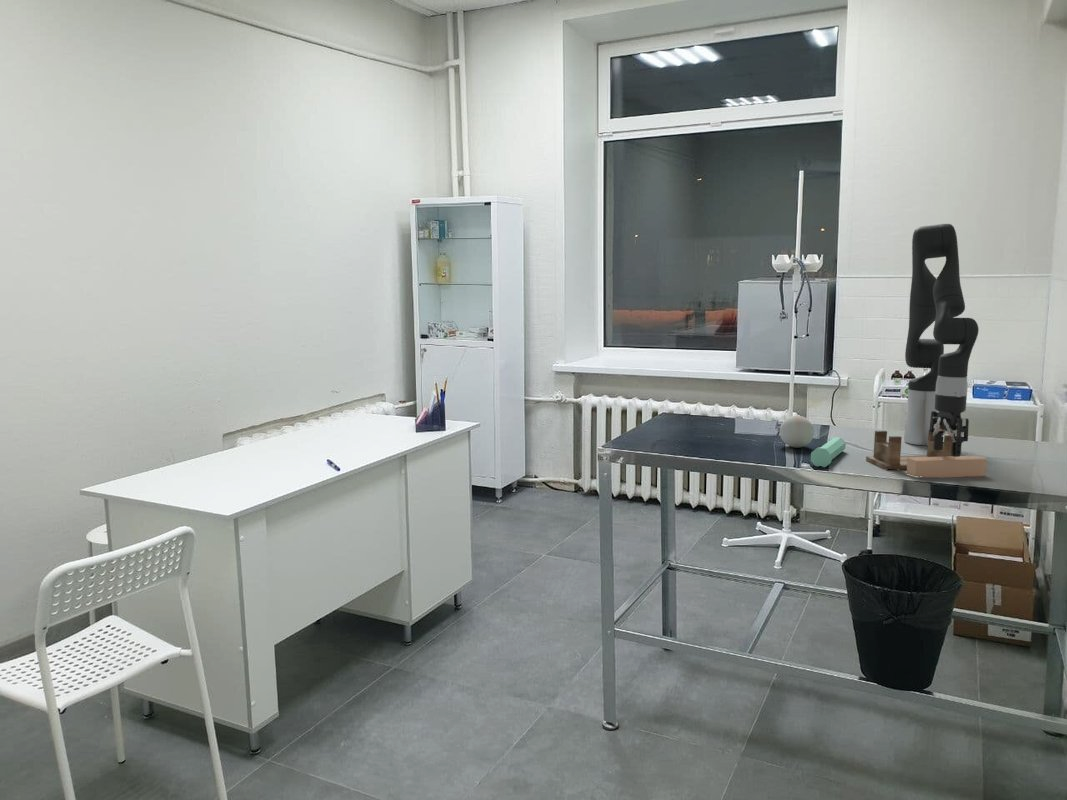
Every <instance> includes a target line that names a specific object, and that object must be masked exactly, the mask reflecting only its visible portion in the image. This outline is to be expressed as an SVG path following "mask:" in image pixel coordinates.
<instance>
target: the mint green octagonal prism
mask: <svg viewBox="0 0 1067 800" xmlns="http://www.w3.org/2000/svg"><path fill="white" fill-rule="evenodd" d="M846 444H847V443H846V441H845V439H843V438H842V437H840V436H839V437H837V436H834V437H833V438H831V439H830V440H829V441H828V442H826V443H825V444H823V445H822V446H821V447H817V448H816V447H815V449H814V450H812V451H811V453H810V462H811V463H812V464H813V465H814V466H815V467H819V466H822V467H821V468H826V467H828V466H829V465H830V464H831V463H832V460H833V459H835V458H836V457H837V456H839V455H840V453H842V452H843V451H845V450H846Z"/></svg>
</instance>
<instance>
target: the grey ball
mask: <svg viewBox="0 0 1067 800" xmlns="http://www.w3.org/2000/svg"><path fill="white" fill-rule="evenodd" d="M814 434H815V429H814V426H813V424H812V423H811V421H810V420H809V419H808V418H807V417H805V416H801V415H791V416H789V417H787V418H786V419H785V420H784V421H782V423H781V425H780V427H779V435H780V438H781V440H782V441H783V442H784V443H785V445H786V446H788V447H791V448H795V449H797V448H803V447H806V446H807V445H809V444H810V442H811V441H813V438H814Z"/></svg>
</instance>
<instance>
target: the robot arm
mask: <svg viewBox="0 0 1067 800" xmlns="http://www.w3.org/2000/svg"><path fill="white" fill-rule="evenodd" d="M912 233H913V234H912V240H911V254H912V255H911V260H912V261H911V263H912V264H911V265H912V266H911V268H912V273H911V274H912V275H911V285H910V292H909V293H910V294H909V307H908V308H909V310H908V311H909V313H908V315H909V317H908V319H909V320H908V330H907V331H908V332H907V339H906V344H905V345H906V346H905V352H904V353H905V355H904V356H905V357H904V358H905V363H906V365H907V366H908V367H909V368H913V369H930V371H929V372H927V373H926V374H924V375H922V376H920V377H915V378H911V379H910V380H909V381H908V384H907V385H908V386H907V401H906V404H907V405H906V412H905V419H904V434H903V435H904V436H903V439H904V443H907V444H910V445H916V446H928V431H930V432H932V433H933V436H934V450H942V449H943V442H944V435H945V433H946V432H947V434H948V435H950V436H951V438H952V441H953V442H952V449H951V456H953V457H959V456H962V454H961V453H962V444H963V443H964V442H968V441H969V426H970V425H969V423H970V422H969V418H962V417H961V416H962V415H961V414H962V413H964V412H966V411H967V399H968V398H967V397H968V386H969V385H968V369H969V361H970V357H971V355H972V351H973V348H974V346H975V343H976V341H977V339H978V336H979V335H978V334H979V326H978V322H977V321H976V320H975V319H974V318H972V317H959V316H961V315H962V314H963V313H964V312H965V309H966V305H965V304H966V302H965V299H964V295H963V291H962V290H963V289H962V285H961V278H960V277H961V275H960V258H959V244H958V237H957V232H956V229H955V227H954V225H952V223H940V224H933V225H925V226H924V225H923V226H919V227H916V228H915V229H914V231H913V232H912ZM944 257H945V263H944V265H943V267H942V269H941V271H940V272H939V274H938V276H937V278H936V277H935V276H934V274H933V273H932V272H931V271H930V269H929V268H928V265H927V264H926V260H928V259H938V258H944ZM933 324H934V327H933V329H932V330H933V331H932V335H933V338H921V337H922V335H923V333H925V331H926V330H927V329H928V328H929V327H930V326H932V325H933ZM945 345H958V347H957V349H956V350H954V351H952V352H947V353H944V352H945V350H944V349H945ZM955 435H956V436H955Z"/></svg>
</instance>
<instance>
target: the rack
mask: <svg viewBox="0 0 1067 800" xmlns="http://www.w3.org/2000/svg"><path fill="white" fill-rule="evenodd" d="M955 436H956V435H955ZM887 438H888V439H887ZM952 442H953V441H952V438H951V436H950V435H949V434H948V435H946V434H944V435H943V449H942V450H934V436H933V433H932V432H930V431H928V445H926V446H927V449H926V455H925V454H923V455H922V454H921V455H920V454H919V455H901V454H902V453H901V451H902V436H900V435H897V436H896V435H892V436H891V435H890V436H888V431H887V430H874V443H873V455H871V456H870V455H869V456H866V457H865V461H867V462H869V463H870V464H872V465H875V466H877V467H879V468H880V469H881V468H882V469H883V470H885V469H886V471H889V470H888V469H891V470H890V471H893V470H892V469H907V459H908V458H911V457H945V456H951V449H952Z"/></svg>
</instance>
